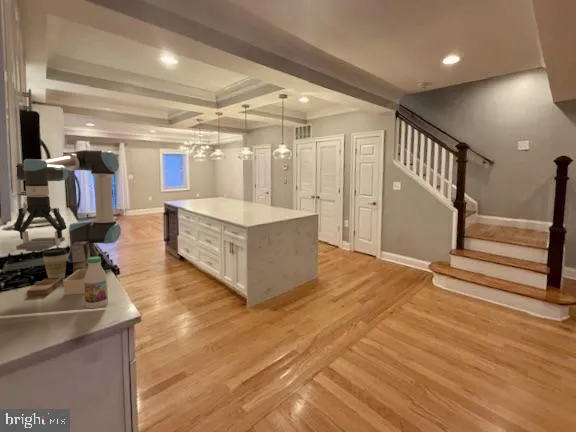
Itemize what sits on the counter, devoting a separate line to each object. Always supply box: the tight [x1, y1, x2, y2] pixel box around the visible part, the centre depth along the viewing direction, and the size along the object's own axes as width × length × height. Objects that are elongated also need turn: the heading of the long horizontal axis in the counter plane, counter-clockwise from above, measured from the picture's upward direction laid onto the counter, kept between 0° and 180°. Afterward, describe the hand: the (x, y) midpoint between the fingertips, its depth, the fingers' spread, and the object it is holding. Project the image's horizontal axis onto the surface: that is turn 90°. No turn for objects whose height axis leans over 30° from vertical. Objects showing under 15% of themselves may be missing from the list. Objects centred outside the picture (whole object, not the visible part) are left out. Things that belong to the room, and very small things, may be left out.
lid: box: [15, 236, 66, 252], centre depth 131 cm, size 16×11×3 cm
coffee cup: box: [41, 247, 68, 279], centre depth 147 cm, size 10×10×15 cm
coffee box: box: [72, 241, 90, 273], centre depth 158 cm, size 9×6×16 cm
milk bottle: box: [84, 256, 109, 310], centre depth 121 cm, size 8×8×20 cm
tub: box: [62, 269, 88, 296], centre depth 138 cm, size 16×8×7 cm, turn 15°
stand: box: [26, 277, 64, 298], centre depth 134 cm, size 15×7×4 cm, turn 15°
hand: (42, 246), depth 132 cm, fingers closed on lid, 11 cm apart
